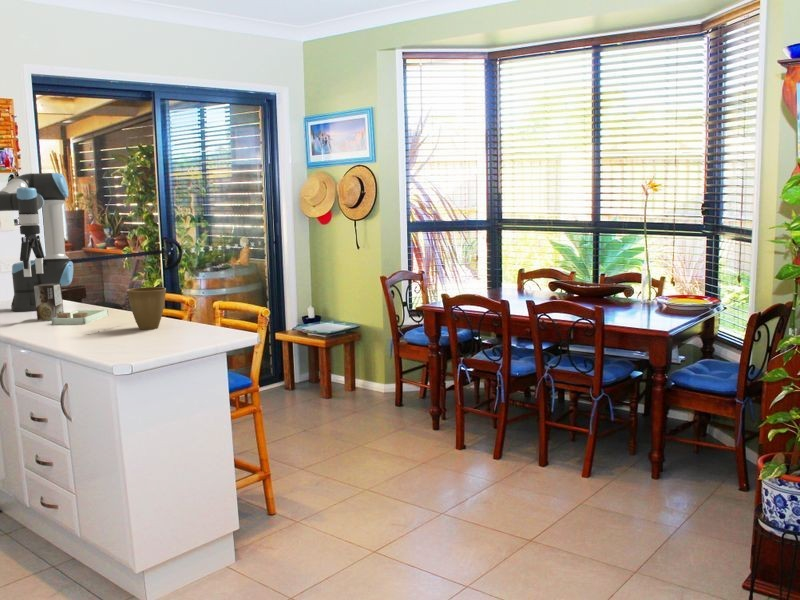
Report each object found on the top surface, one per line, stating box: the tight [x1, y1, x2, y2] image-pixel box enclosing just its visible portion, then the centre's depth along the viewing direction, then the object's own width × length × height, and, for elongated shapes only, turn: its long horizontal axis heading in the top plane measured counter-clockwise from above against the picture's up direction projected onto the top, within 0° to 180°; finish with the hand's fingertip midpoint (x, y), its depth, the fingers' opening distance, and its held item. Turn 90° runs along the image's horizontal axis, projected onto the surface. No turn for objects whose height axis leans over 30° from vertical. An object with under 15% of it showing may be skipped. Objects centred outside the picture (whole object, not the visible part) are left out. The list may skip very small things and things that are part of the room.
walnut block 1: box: [57, 312, 71, 318], centre depth 316 cm, size 4×4×4 cm
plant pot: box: [126, 286, 167, 330], centre depth 305 cm, size 15×15×16 cm
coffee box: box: [34, 284, 65, 321], centre depth 326 cm, size 9×6×16 cm
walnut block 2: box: [73, 312, 88, 318], centre depth 316 cm, size 4×4×4 cm
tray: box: [51, 309, 109, 326], centre depth 323 cm, size 22×14×4 cm, turn 177°
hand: (33, 275), depth 322 cm, fingers open, 13 cm apart
